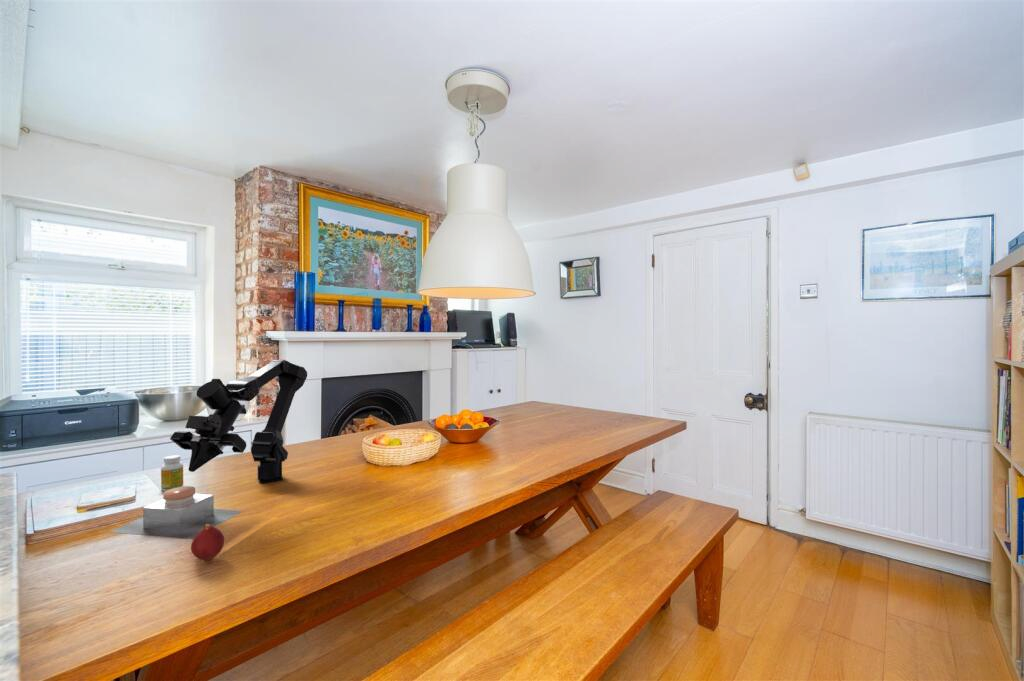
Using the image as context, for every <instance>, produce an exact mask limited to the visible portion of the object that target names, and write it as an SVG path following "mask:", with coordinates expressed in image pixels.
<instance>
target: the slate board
mask: <svg viewBox="0 0 1024 681" xmlns="http://www.w3.org/2000/svg"><path fill="white" fill-rule="evenodd" d="M242 512H243V510H237V509H235V510H234V509H222V508H214V514H213V515H211V516H209V517H207V518H205V519H203V520H201V521H199V522H197V523H195V524H193V525H191V526H189V527H187V528H185V529H183V530H182V531H172V530H160V529H148V528H143V516H142V517H139V518H138V519H135V520H132V521H130V522H128V523H126V524H124V525H121V526H119V527H117V528H115V529H111V530H109V531H108V532H109V533H116V534H127V535H128V534H129V535H138V536H139V535H140V536H151V537H161V538H172V539H173V538H175V539H184V540H193V539H194V537H195V536H196V535H197V534H198V533H199V532H200V531H201V530H202V529H204V527H203V526H205V525H206V524H209V525H211V526H212V527H215V528H216V527H217V526H219V525H221V524H222V523H224V522H226V521H228V520H229V519H232V518H233V517H235V516H237V515H238V514H240V513H242Z"/></svg>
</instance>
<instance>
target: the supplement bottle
mask: <svg viewBox="0 0 1024 681" xmlns="http://www.w3.org/2000/svg"><path fill="white" fill-rule="evenodd" d="M163 463H164V464H162V465H161V466H160V467H161V468H160V480H161V482H160V485H161V486H160V487H161V488H160V490H161V491H162V490H163V492H165V491H167V490H170V489H173V488H177V487H184V464H183V462H181V455H180V454H179V455H178V454H176V455H175V454H174V455H167V456H164V457H163Z"/></svg>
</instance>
